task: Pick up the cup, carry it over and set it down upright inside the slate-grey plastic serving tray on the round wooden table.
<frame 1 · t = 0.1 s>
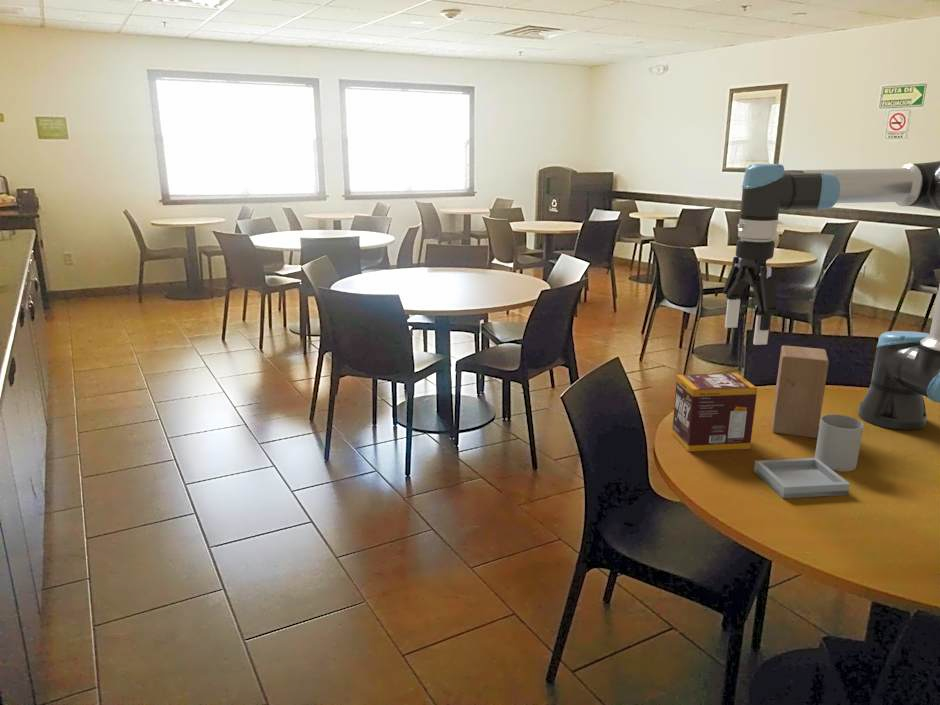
hand: (744, 335, 152), 28 cm above the table, fingers open, 13 cm apart
tray: (799, 482, 146), on the table
wooden block: (793, 429, 172), on the table
cup: (834, 463, 154), on the table
supplement box: (709, 442, 166), on the table
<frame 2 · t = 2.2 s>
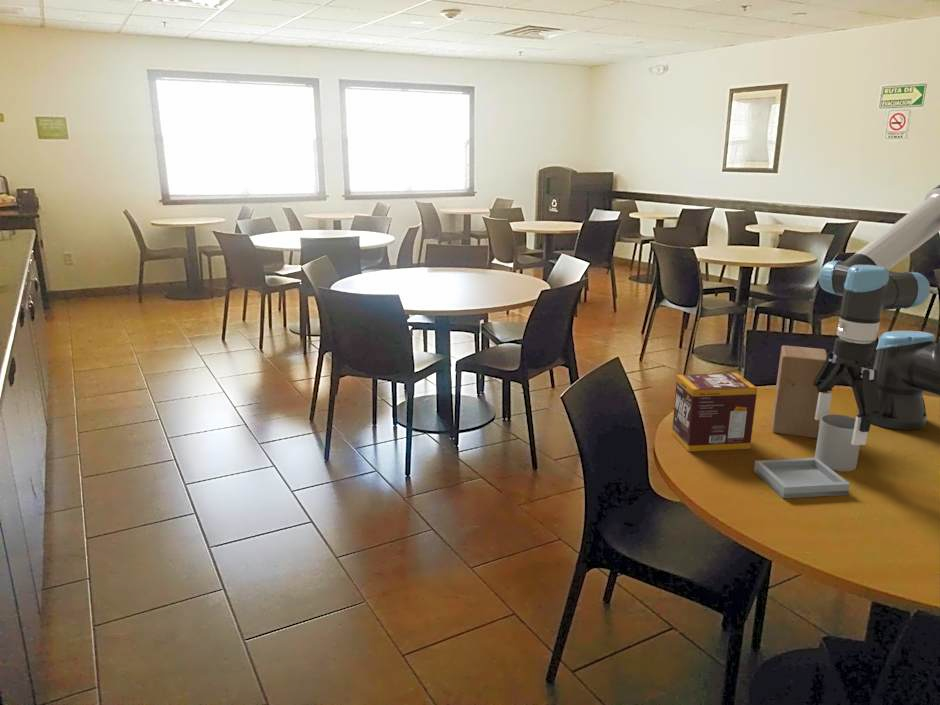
hand: (838, 431, 152), 8 cm above the table, fingers open, 13 cm apart
nothing on the table moved.
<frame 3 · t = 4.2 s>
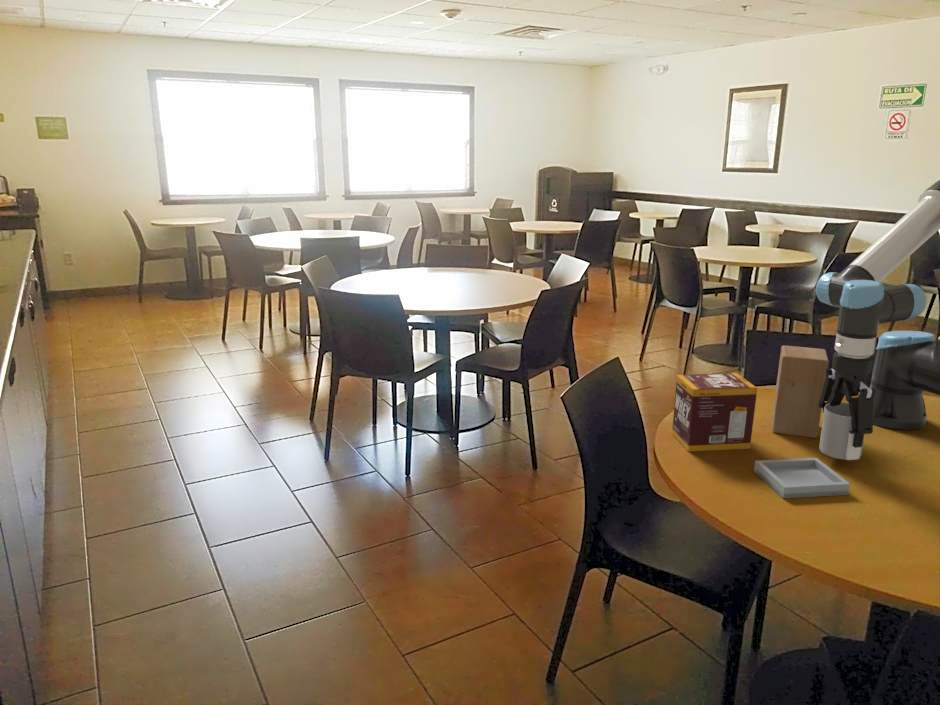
hand: (839, 449, 154), 3 cm above the table, fingers closed on cup, 8 cm apart
cup: (839, 451, 154), point 2 cm above the table, touching gripper
everything else where it was.
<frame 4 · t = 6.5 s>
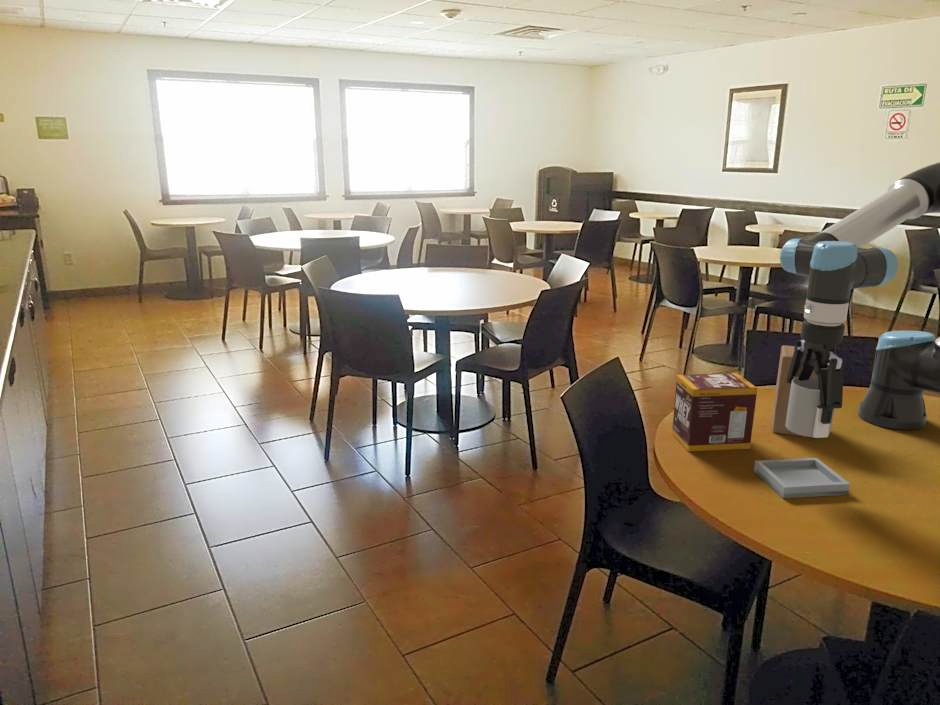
hand: (807, 427, 142), 13 cm above the table, fingers closed on cup, 8 cm apart
cup: (807, 429, 142), point 12 cm above the table, touching gripper
everything else where it was.
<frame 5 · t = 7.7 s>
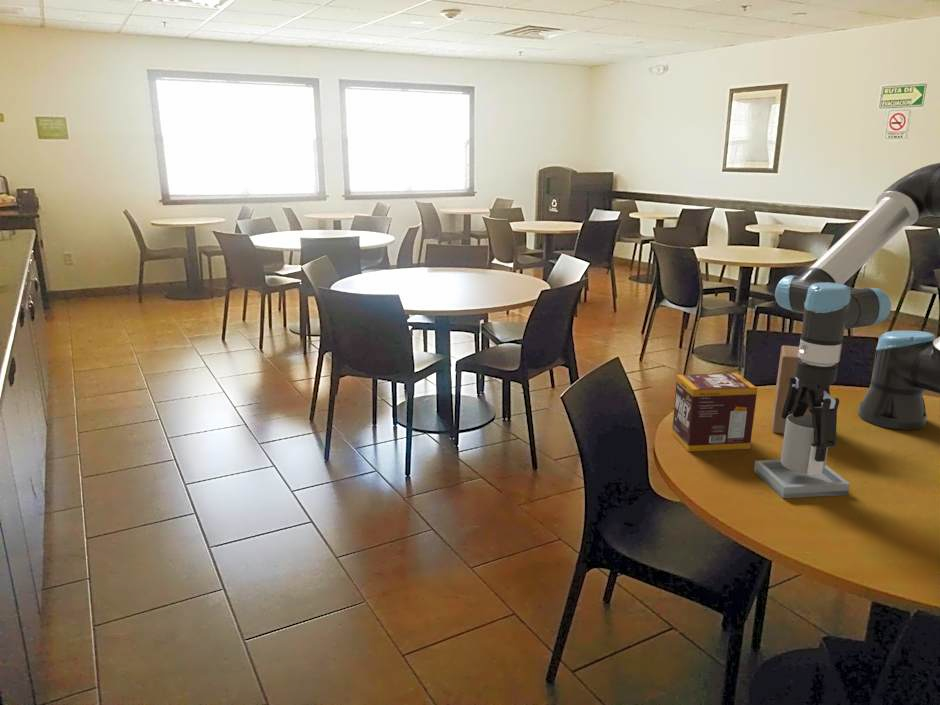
hand: (802, 463, 144), 4 cm above the table, fingers closed on cup, 8 cm apart
cup: (802, 465, 144), point 4 cm above the table, touching gripper
everything else where it was.
when the fingers open (3 cm above the table, at t = 8.6 s): cup drops 1 cm, resting on tray.
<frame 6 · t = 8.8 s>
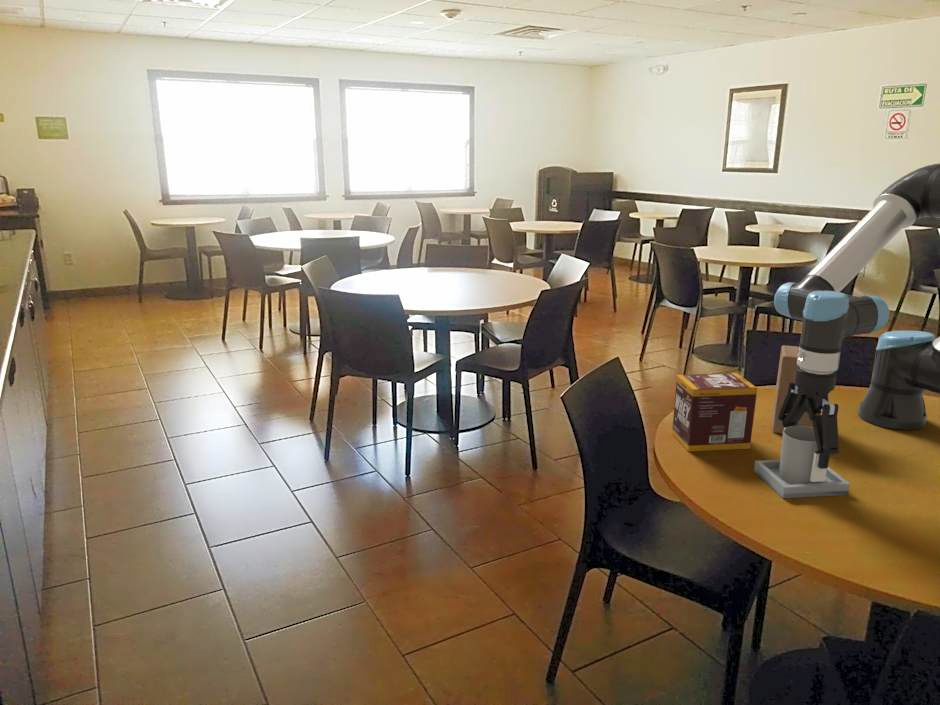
hand: (801, 467, 145), 3 cm above the table, fingers open, 11 cm apart
cup: (800, 478, 145), point 1 cm above the table, touching tray
everything else where it was.
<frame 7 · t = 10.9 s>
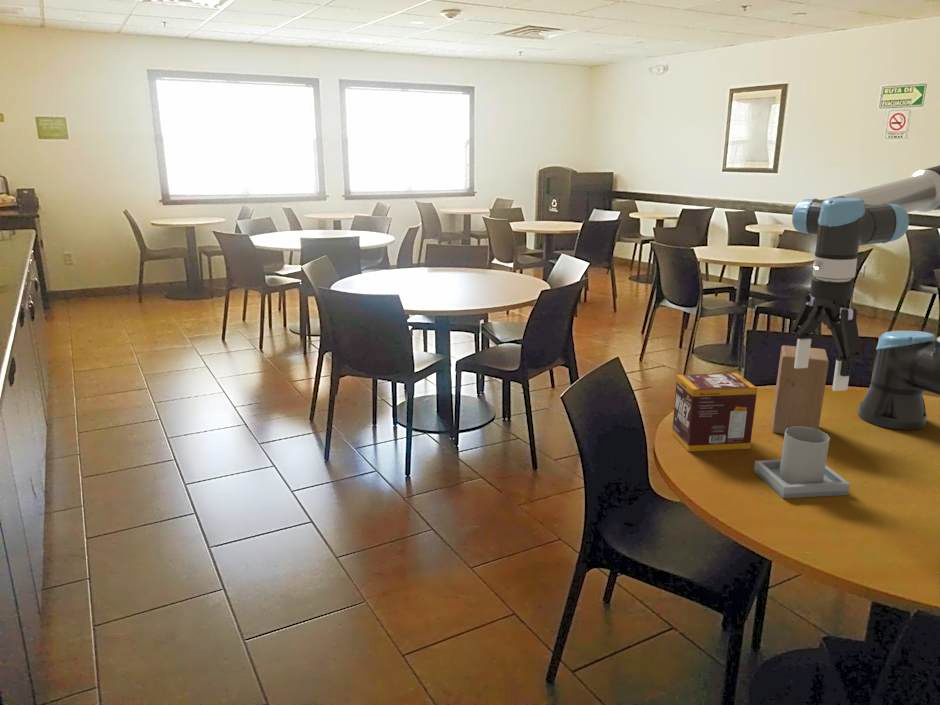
hand: (819, 378, 143), 22 cm above the table, fingers open, 13 cm apart
nothing on the table moved.
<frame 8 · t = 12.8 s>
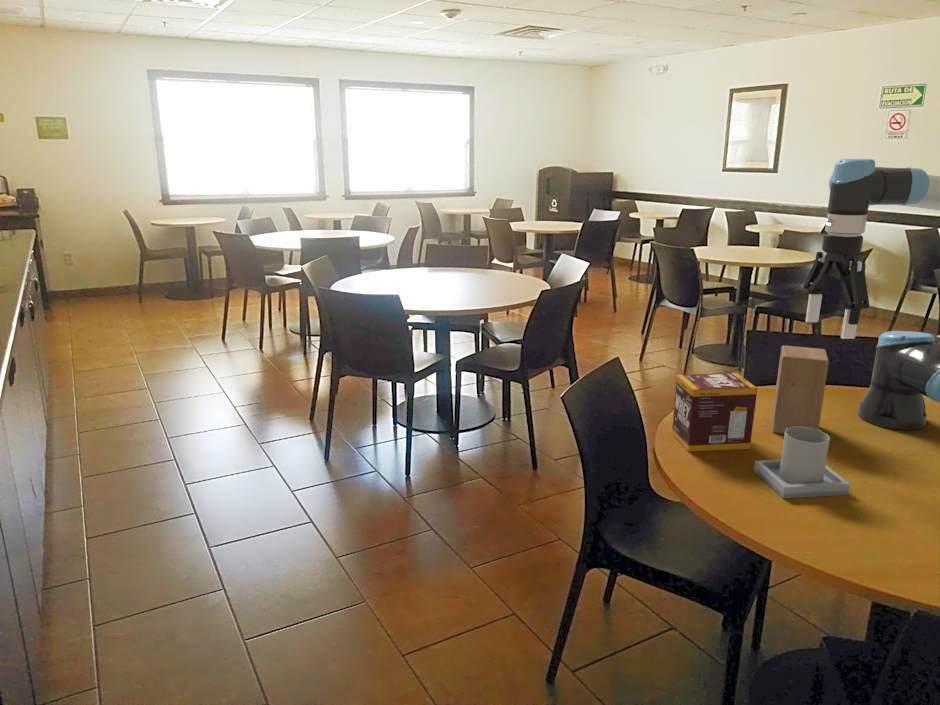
hand: (828, 329, 153), 29 cm above the table, fingers open, 13 cm apart
nothing on the table moved.
at the end: cup inside the target area on the tray (0.2 cm from its centre), point 0.8 cm above the tray's base; cup tilted 0°; the gripper is holding nothing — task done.
